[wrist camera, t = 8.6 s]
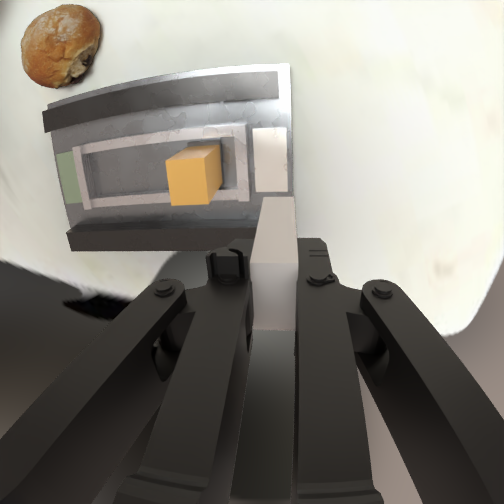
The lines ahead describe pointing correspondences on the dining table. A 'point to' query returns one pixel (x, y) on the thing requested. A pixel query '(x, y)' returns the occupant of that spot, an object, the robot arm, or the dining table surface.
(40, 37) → the bread roll
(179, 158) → the lever
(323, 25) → the dining table surface
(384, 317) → the robot arm
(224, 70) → the panel
